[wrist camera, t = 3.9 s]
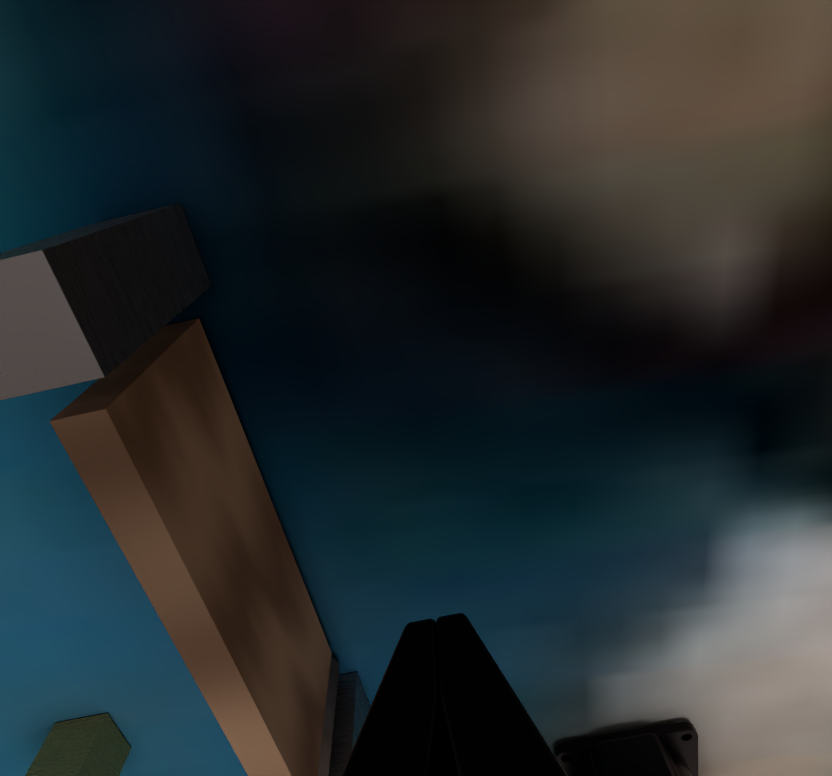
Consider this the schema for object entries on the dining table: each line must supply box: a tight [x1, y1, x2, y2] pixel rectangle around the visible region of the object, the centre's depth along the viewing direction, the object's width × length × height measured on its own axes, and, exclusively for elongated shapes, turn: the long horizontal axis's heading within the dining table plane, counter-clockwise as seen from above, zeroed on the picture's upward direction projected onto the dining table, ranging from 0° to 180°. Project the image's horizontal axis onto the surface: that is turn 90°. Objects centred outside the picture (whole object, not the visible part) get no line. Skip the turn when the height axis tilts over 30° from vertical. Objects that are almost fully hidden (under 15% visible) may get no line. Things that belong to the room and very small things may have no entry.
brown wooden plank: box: [50, 318, 339, 776], centre depth 17 cm, size 16×2×6 cm, turn 12°
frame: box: [0, 203, 370, 776], centre depth 17 cm, size 22×13×7 cm, turn 12°
